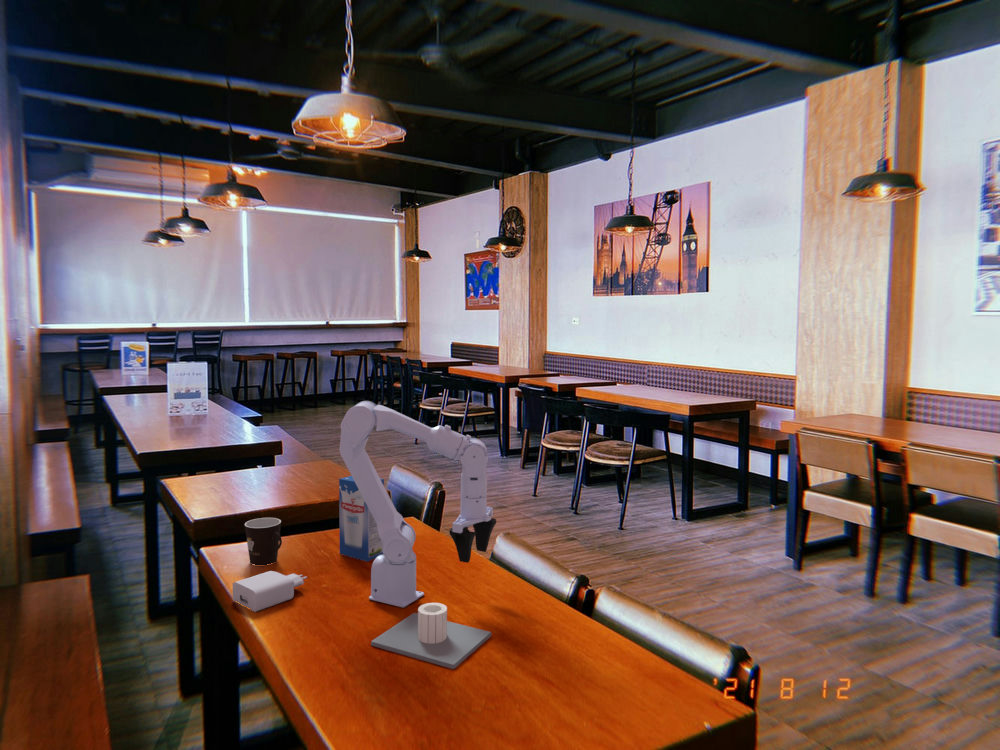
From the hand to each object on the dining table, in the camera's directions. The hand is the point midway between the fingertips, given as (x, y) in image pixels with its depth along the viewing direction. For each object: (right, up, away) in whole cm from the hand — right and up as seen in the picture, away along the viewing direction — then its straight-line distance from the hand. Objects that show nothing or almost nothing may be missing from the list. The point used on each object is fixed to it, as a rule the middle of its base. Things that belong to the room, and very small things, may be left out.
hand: (473, 556), depth 144 cm
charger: (-44, -9, +1) cm, 45 cm away
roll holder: (-7, -11, -19) cm, 23 cm away
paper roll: (-7, -10, -19) cm, 23 cm away
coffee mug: (-53, -8, +20) cm, 57 cm away
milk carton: (-30, -7, +27) cm, 41 cm away
